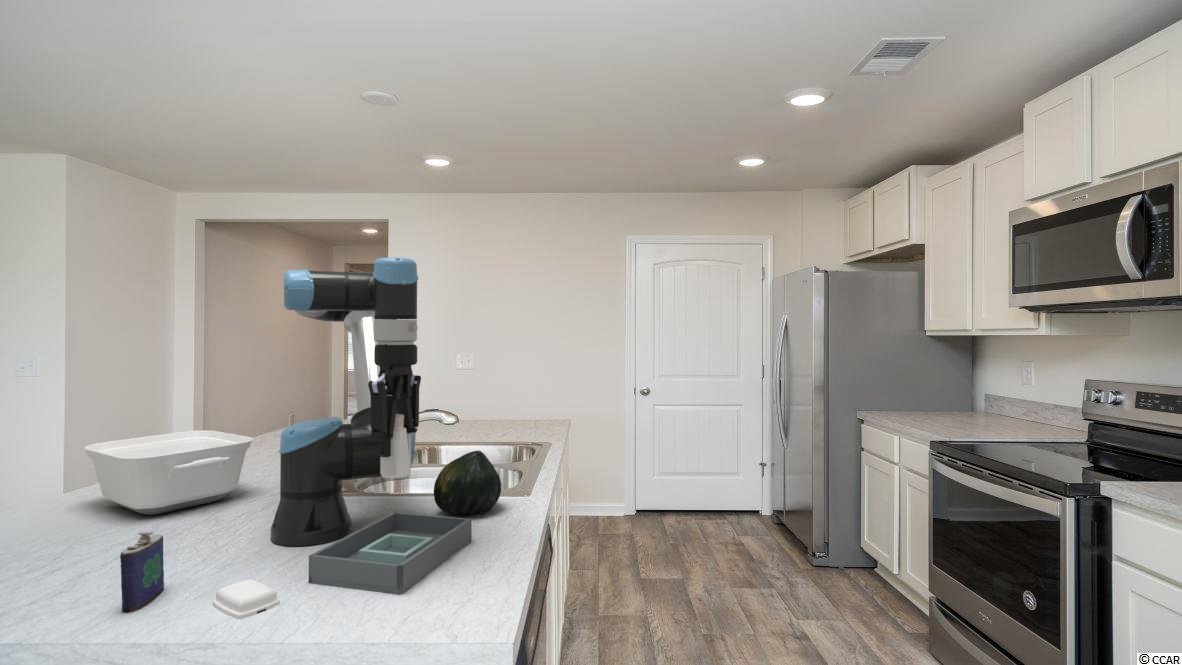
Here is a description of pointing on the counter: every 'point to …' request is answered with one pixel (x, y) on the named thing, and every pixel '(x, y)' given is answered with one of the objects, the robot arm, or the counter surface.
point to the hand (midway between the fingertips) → (396, 470)
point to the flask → (142, 572)
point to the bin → (390, 552)
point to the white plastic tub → (169, 469)
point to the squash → (467, 485)
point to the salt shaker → (400, 449)
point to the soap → (245, 598)
